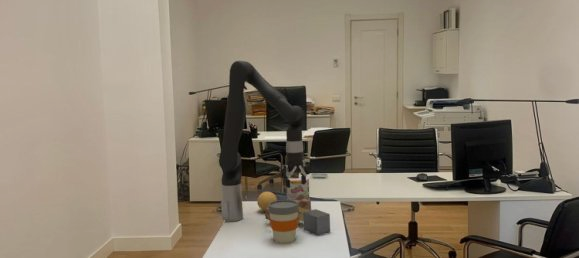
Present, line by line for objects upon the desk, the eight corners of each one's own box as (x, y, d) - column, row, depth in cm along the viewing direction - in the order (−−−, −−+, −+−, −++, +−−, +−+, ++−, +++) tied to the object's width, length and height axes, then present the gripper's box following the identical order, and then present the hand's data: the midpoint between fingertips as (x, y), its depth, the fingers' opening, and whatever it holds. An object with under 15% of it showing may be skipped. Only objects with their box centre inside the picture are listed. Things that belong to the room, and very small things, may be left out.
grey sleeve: (317, 235, 196) (316, 217, 195) (303, 230, 204) (303, 212, 203) (330, 232, 200) (329, 213, 199) (316, 226, 208) (315, 209, 207)
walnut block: (271, 226, 211) (270, 209, 210) (265, 223, 214) (264, 207, 213) (311, 215, 224) (310, 199, 223) (305, 213, 227) (305, 197, 226)
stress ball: (277, 214, 230) (283, 198, 237) (267, 203, 225) (273, 186, 231) (261, 215, 236) (267, 199, 242) (251, 204, 230) (257, 188, 236)
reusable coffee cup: (265, 243, 190) (263, 207, 188) (276, 232, 202) (274, 199, 200) (294, 245, 186) (292, 209, 184) (303, 235, 197) (302, 200, 196)
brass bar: (311, 225, 201) (311, 215, 201) (283, 214, 218) (283, 205, 218) (318, 223, 204) (318, 213, 203) (291, 212, 221) (290, 203, 220)
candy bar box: (286, 213, 229) (285, 180, 227) (287, 210, 234) (286, 178, 232) (309, 213, 228) (308, 180, 226) (310, 210, 233) (309, 177, 231)
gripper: (302, 147, 216) (303, 181, 218) (276, 151, 208) (278, 186, 210) (312, 149, 210) (313, 184, 212) (286, 153, 202) (287, 190, 204)
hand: (295, 185), depth 211 cm, fingers open, 8 cm apart
